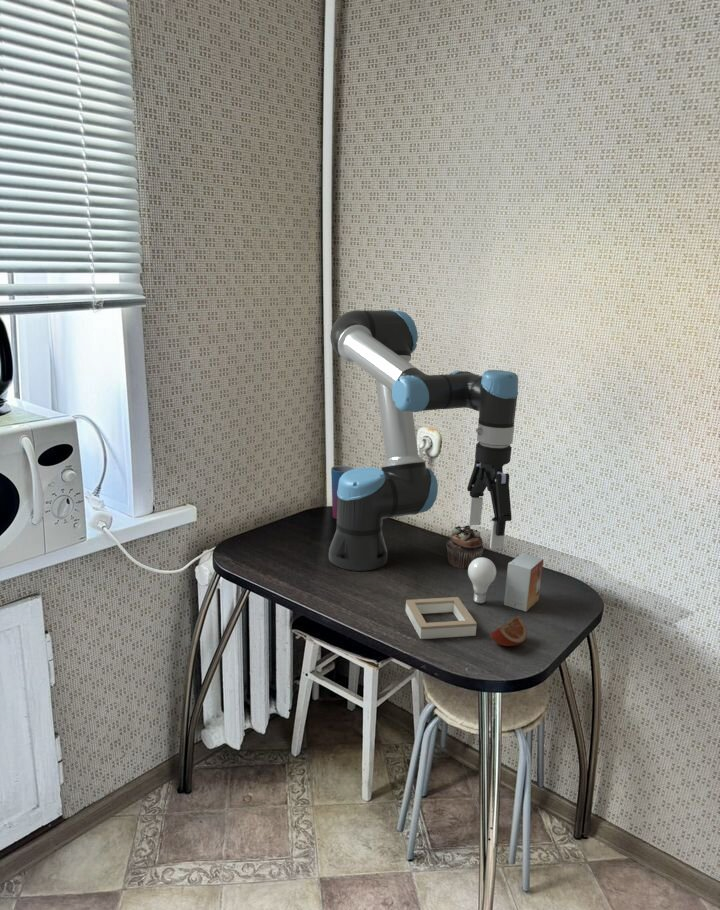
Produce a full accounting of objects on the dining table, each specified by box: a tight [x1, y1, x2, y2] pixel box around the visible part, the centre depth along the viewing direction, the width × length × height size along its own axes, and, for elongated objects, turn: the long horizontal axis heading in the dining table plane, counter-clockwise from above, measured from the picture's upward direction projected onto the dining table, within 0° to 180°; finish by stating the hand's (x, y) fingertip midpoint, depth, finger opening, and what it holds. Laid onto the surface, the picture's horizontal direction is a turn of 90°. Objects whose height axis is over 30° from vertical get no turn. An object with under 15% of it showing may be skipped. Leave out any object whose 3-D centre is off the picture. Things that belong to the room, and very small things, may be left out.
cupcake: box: [445, 524, 484, 570], centre depth 184 cm, size 10×10×10 cm
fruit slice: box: [489, 615, 528, 647], centre depth 146 cm, size 8×7×5 cm
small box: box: [503, 552, 545, 613], centre depth 163 cm, size 8×6×10 cm
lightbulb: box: [467, 556, 497, 605], centre depth 162 cm, size 6×6×11 cm
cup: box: [330, 465, 355, 520], centre depth 212 cm, size 7×7×15 cm
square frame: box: [405, 596, 478, 640], centre depth 153 cm, size 12×12×3 cm
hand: (484, 536), depth 158 cm, fingers open, 13 cm apart
